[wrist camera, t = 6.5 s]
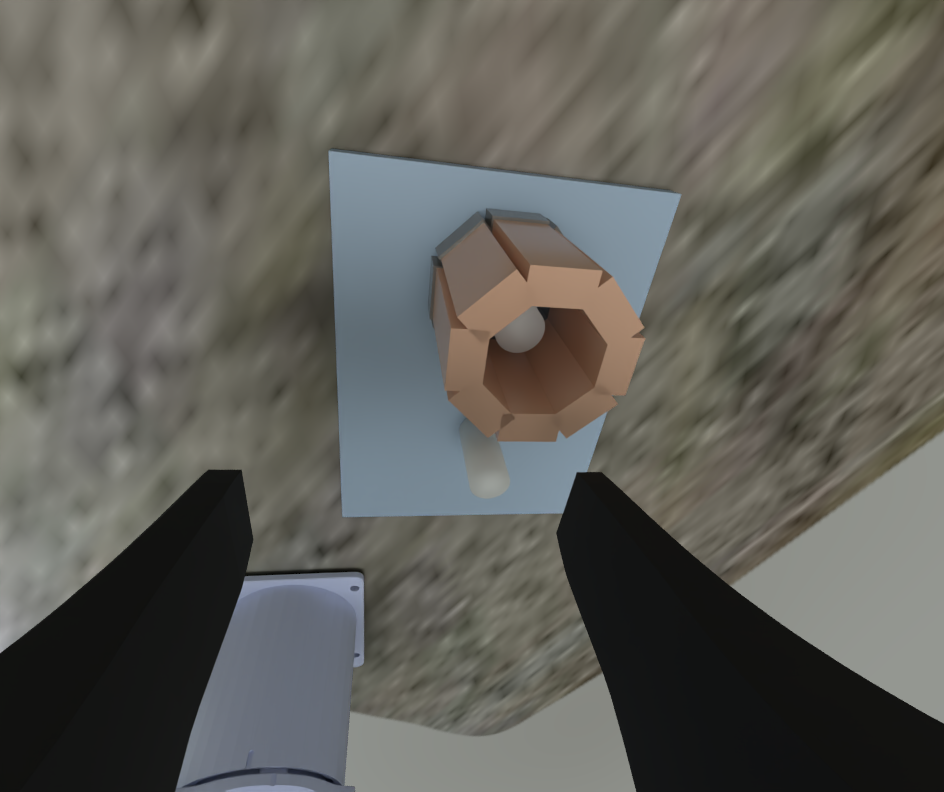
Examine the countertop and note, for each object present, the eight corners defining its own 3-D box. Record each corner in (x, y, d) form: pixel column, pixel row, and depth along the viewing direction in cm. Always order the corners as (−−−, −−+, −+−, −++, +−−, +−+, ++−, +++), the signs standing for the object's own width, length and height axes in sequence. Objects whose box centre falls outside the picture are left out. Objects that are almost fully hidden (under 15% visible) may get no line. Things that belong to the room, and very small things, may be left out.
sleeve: (554, 353, 19) (610, 444, 14) (424, 348, 18) (435, 443, 13) (587, 218, 16) (672, 271, 11) (434, 202, 15) (454, 254, 10)
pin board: (568, 502, 25) (596, 568, 22) (343, 505, 23) (334, 579, 20) (670, 190, 17) (743, 215, 13) (331, 148, 15) (310, 164, 11)
